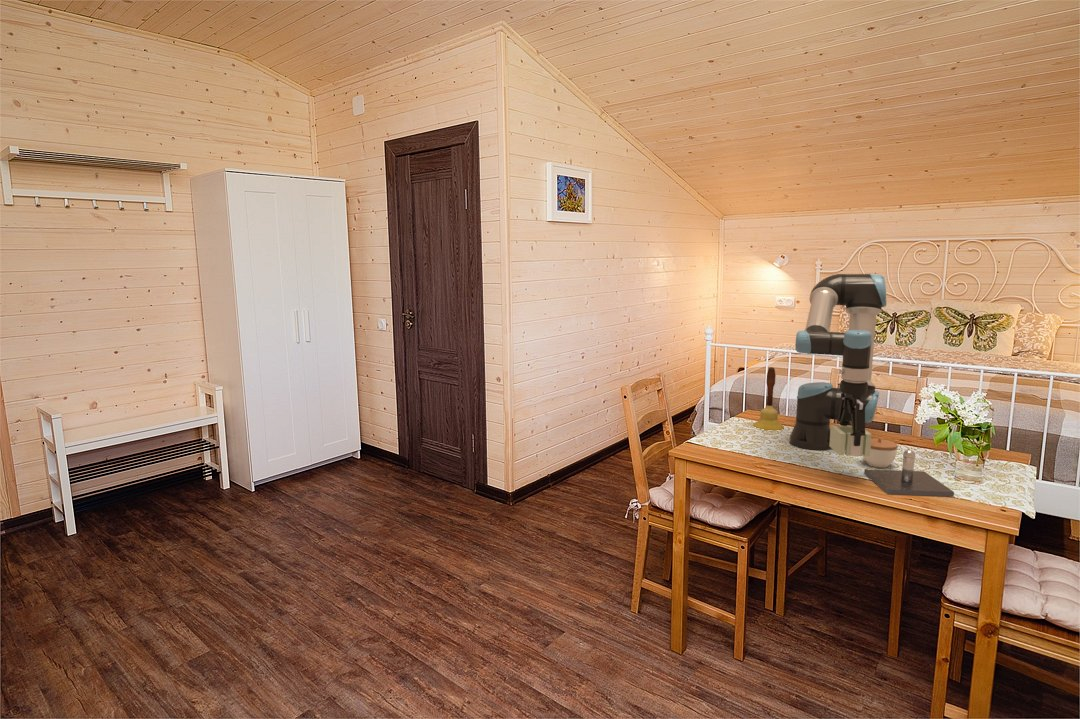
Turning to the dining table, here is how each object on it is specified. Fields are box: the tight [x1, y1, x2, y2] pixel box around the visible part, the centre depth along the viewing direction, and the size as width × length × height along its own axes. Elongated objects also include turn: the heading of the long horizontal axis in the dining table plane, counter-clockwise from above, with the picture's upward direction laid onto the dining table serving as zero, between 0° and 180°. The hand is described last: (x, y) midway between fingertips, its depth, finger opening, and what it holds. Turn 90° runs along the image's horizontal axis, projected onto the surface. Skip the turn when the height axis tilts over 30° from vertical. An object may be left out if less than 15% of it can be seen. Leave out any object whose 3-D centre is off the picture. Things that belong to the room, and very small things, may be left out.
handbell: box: [752, 366, 785, 431], centre depth 254 cm, size 12×12×25 cm
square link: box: [829, 424, 873, 457], centre depth 194 cm, size 9×9×7 cm
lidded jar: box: [861, 437, 899, 469], centre depth 207 cm, size 11×11×9 cm
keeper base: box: [863, 449, 955, 498], centre depth 188 cm, size 18×18×11 cm
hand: (849, 450), depth 194 cm, fingers closed on square link, 9 cm apart
